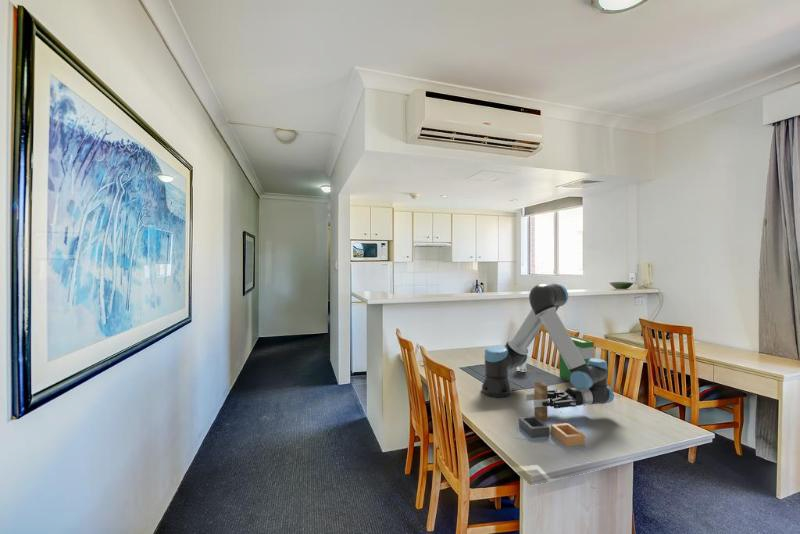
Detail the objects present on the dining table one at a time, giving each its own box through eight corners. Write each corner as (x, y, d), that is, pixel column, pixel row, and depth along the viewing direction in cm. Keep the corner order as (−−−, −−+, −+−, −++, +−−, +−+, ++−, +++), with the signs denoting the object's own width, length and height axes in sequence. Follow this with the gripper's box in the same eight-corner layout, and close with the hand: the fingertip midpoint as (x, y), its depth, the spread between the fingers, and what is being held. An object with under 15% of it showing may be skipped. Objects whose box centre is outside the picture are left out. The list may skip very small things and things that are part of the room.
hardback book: (559, 375, 200) (559, 336, 199) (570, 374, 202) (569, 335, 201) (582, 386, 183) (582, 342, 182) (593, 384, 184) (593, 341, 184)
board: (516, 440, 128) (516, 437, 128) (518, 424, 141) (518, 421, 141) (587, 454, 118) (587, 451, 118) (583, 435, 131) (583, 432, 131)
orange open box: (566, 446, 122) (566, 436, 122) (551, 433, 131) (551, 424, 131) (584, 444, 123) (584, 435, 123) (568, 431, 132) (568, 422, 132)
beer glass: (526, 373, 204) (525, 349, 204) (514, 372, 208) (514, 348, 207) (528, 370, 210) (528, 346, 210) (517, 368, 213) (516, 345, 213)
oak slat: (541, 423, 142) (540, 385, 141) (534, 417, 147) (534, 381, 146) (547, 422, 142) (547, 385, 142) (540, 417, 147) (540, 381, 147)
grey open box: (531, 437, 128) (531, 428, 128) (519, 426, 137) (518, 417, 137) (549, 436, 129) (549, 427, 129) (535, 424, 138) (535, 416, 138)
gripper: (594, 414, 138) (542, 419, 134) (564, 396, 157) (518, 400, 153) (593, 396, 138) (542, 400, 134) (564, 380, 156) (518, 383, 153)
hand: (529, 400), depth 143 cm, fingers open, 6 cm apart
